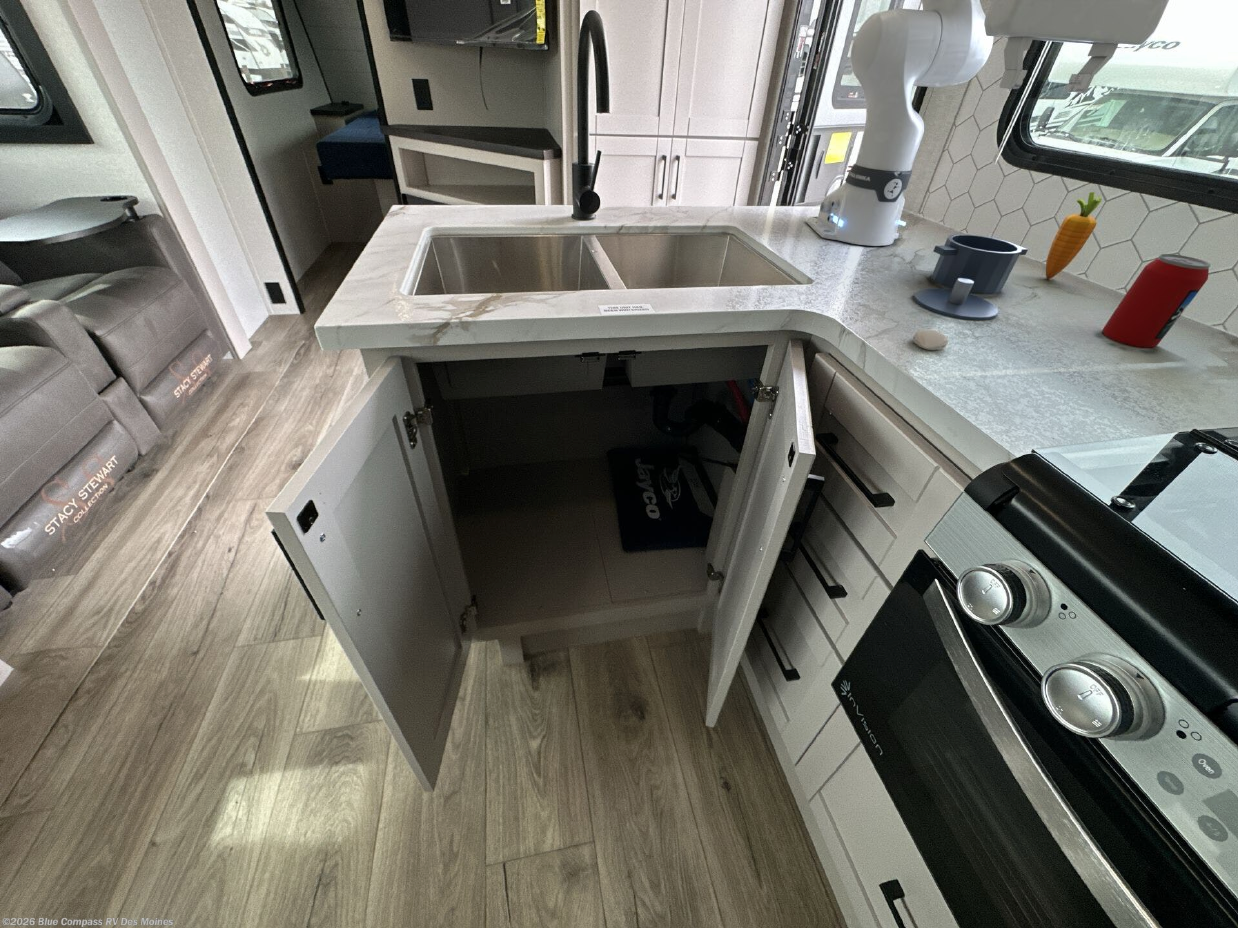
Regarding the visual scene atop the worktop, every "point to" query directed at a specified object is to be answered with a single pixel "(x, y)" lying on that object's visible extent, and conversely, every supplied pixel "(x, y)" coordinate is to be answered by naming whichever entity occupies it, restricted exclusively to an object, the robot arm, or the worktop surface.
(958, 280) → the lid
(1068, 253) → the carrot
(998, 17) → the robot arm
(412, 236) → the worktop surface
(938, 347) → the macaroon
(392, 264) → the worktop surface
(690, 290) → the worktop surface
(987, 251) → the pot
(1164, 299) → the beverage can
